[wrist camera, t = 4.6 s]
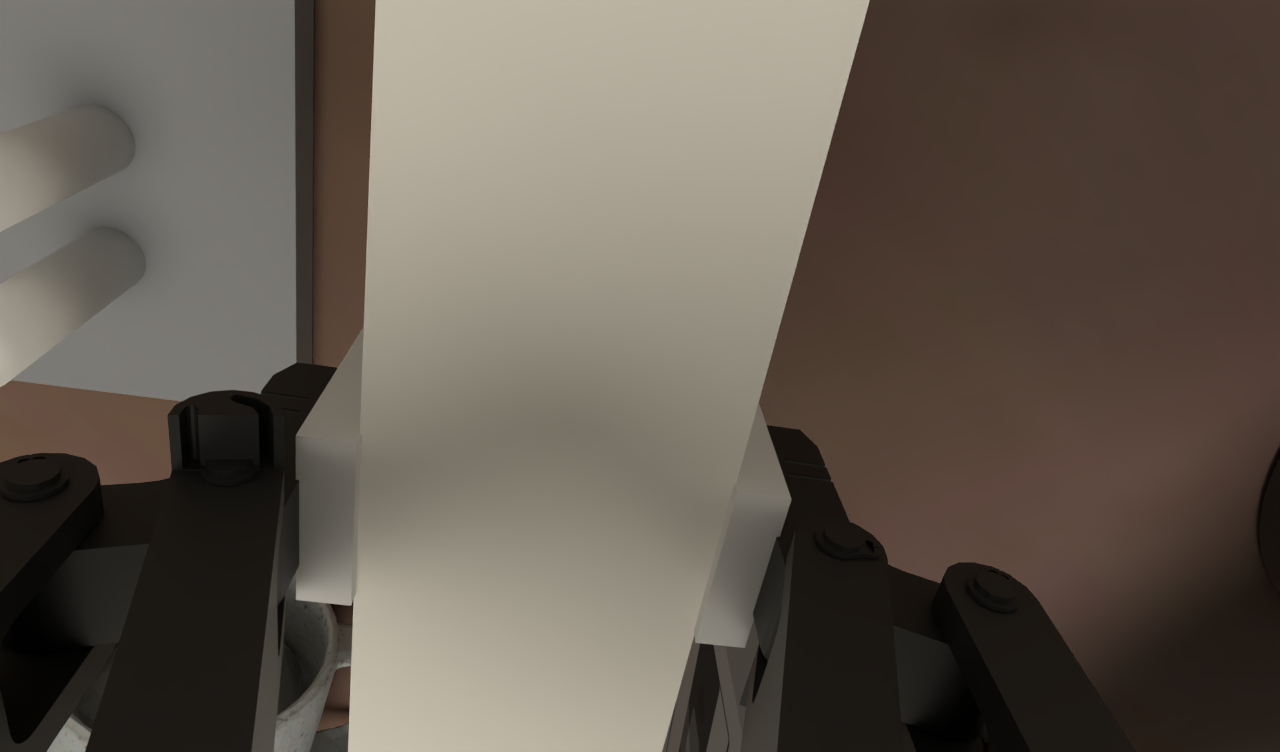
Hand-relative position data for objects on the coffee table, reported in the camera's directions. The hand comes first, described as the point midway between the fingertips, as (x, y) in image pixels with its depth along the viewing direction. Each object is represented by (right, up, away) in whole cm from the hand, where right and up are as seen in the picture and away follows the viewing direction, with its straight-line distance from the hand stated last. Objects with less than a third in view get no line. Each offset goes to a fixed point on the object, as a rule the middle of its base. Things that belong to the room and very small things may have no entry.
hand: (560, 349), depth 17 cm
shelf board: (0, -2, -4) cm, 4 cm away
